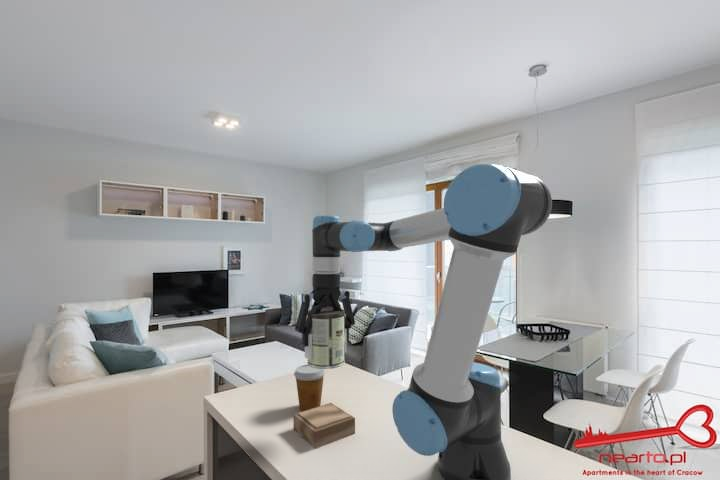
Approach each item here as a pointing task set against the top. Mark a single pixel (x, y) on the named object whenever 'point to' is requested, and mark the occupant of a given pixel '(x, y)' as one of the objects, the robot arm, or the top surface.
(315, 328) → the coffee can
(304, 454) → the top surface
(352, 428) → the stand
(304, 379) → the disposable coffee cup
